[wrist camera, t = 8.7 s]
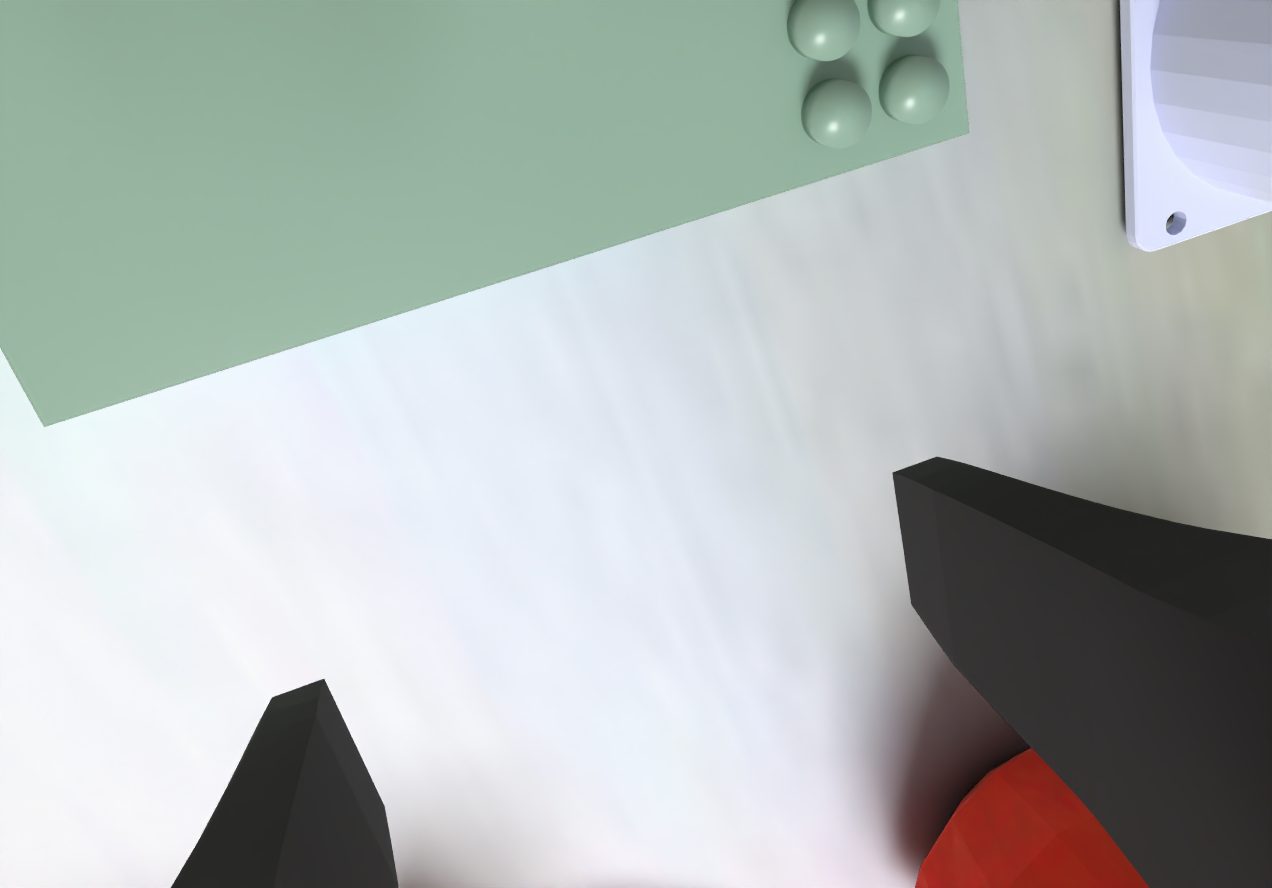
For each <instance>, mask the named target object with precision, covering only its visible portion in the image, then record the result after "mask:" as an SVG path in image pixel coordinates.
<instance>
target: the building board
mask: <svg viewBox="0 0 1272 888" xmlns="http://www.w3.org/2000/svg"><path fill="white" fill-rule="evenodd" d="M968 133H969V122H968V111H967V100H966V90H965V79H964V68H963V57H962V46H961V35H960V24H959V13H958V2H957V0H0V348H1V350H2V352H3V353H4V355H5V357H6V359H7V361H8V363H9V364H10V366H11V368H12V370H13V372H14V373H15V375H16V377H17V379H18V381H19V382H20V384H21V386H22V388H23V390H24V392H25V393H26V395H27V397H28V399H29V401H30V402H31V404H32V406H33V408H34V410H35V412H36V413H37V415H38V417H39V419H40V421H41V422H42V424H43V426H44V427H46V426H49V425H52V424H55V423H58V422H61V421H65V420H68V419H71V418H74V417H77V416H80V415H83V414H87V413H90V412H93V411H96V410H99V409H102V408H105V407H109V406H112V405H115V404H118V403H121V402H124V401H127V400H131V399H134V398H137V397H140V396H143V395H146V394H150V393H153V392H156V391H159V390H162V389H165V388H168V387H172V386H175V385H178V384H181V383H184V382H187V381H190V380H194V379H197V378H200V377H203V376H206V375H209V374H212V373H216V372H219V371H222V370H225V369H228V368H231V367H235V366H238V365H241V364H244V363H247V362H250V361H253V360H257V359H260V358H263V357H266V356H269V355H272V354H275V353H279V352H282V351H285V350H288V349H291V348H294V347H297V346H301V345H304V344H307V343H310V342H313V341H316V340H320V339H323V338H326V337H329V336H332V335H335V334H338V333H342V332H345V331H348V330H351V329H354V328H357V327H360V326H364V325H367V324H370V323H373V322H376V321H379V320H382V319H386V318H389V317H392V316H395V315H398V314H401V313H405V312H408V311H411V310H414V309H417V308H420V307H423V306H427V305H430V304H433V303H436V302H439V301H442V300H445V299H449V298H452V297H455V296H458V295H461V294H464V293H467V292H471V291H474V290H477V289H480V288H483V287H486V286H490V285H493V284H496V283H499V282H502V281H505V280H508V279H512V278H515V277H518V276H521V275H524V274H527V273H530V272H534V271H537V270H540V269H543V268H546V267H549V266H552V265H556V264H559V263H562V262H565V261H568V260H571V259H575V258H578V257H581V256H584V255H587V254H590V253H593V252H597V251H600V250H603V249H606V248H609V247H612V246H615V245H619V244H622V243H625V242H628V241H631V240H634V239H637V238H641V237H644V236H647V235H650V234H653V233H656V232H660V231H663V230H666V229H669V228H672V227H675V226H678V225H682V224H685V223H688V222H691V221H694V220H697V219H700V218H704V217H707V216H710V215H713V214H716V213H719V212H722V211H726V210H729V209H732V208H735V207H738V206H741V205H745V204H748V203H751V202H754V201H757V200H760V199H763V198H767V197H770V196H773V195H776V194H779V193H782V192H785V191H789V190H792V189H795V188H798V187H801V186H804V185H807V184H811V183H814V182H817V181H820V180H823V179H826V178H830V177H833V176H836V175H839V174H842V173H845V172H848V171H852V170H855V169H858V168H861V167H864V166H867V165H870V164H874V163H877V162H880V161H883V160H886V159H889V158H892V157H896V156H899V155H902V154H905V153H908V152H911V151H915V150H918V149H921V148H924V147H927V146H930V145H933V144H937V143H940V142H943V141H946V140H949V139H952V138H955V137H959V136H962V135H965V134H968Z"/></svg>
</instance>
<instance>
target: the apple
mask: <svg viewBox="0 0 1272 888" xmlns="http://www.w3.org/2000/svg"><path fill="white" fill-rule="evenodd" d="M915 888H1149V886H1148V885H1147V884H1146V883H1145V881H1144V880H1143V879H1142V877H1141V876H1140V875H1139V873H1138V872H1137V871H1136V869H1135V868H1134V867H1133V866H1132V864H1131V863H1130V862H1129V860H1128V859H1127V858H1126V856H1125V855H1124V854H1123V852H1122V851H1121V850H1120V849H1119V847H1118V846H1117V845H1116V843H1115V842H1114V841H1113V839H1112V838H1111V837H1110V836H1109V834H1108V833H1107V832H1106V830H1105V829H1104V828H1103V826H1102V825H1101V824H1100V823H1099V821H1098V820H1097V819H1096V818H1095V817H1094V815H1093V814H1092V813H1091V812H1090V811H1089V810H1088V808H1087V807H1086V806H1085V805H1084V804H1083V803H1082V802H1081V800H1080V799H1079V798H1078V797H1077V796H1076V795H1075V794H1074V792H1073V791H1072V790H1071V789H1070V788H1069V787H1068V786H1067V785H1066V784H1065V783H1064V782H1063V781H1062V780H1061V779H1060V778H1059V776H1058V775H1057V774H1056V773H1055V772H1054V771H1053V770H1052V769H1051V768H1050V767H1049V766H1048V765H1047V764H1046V763H1045V762H1044V761H1043V760H1042V759H1041V757H1040V756H1039V755H1038V754H1037V753H1036V752H1035V751H1034V750H1033V749H1032V748H1030V749H1028V750H1026V751H1024V752H1022V753H1020V754H1018V755H1016V756H1015V757H1013V758H1011V759H1010V760H1008V761H1006V762H1005V763H1003V764H1001V765H1000V766H998V767H996V768H995V769H993V770H991V771H990V772H988V773H987V774H986V775H985V776H984V777H983V778H982V779H981V780H980V781H979V782H978V783H977V784H976V785H975V786H974V787H973V788H972V789H971V790H970V792H969V793H968V794H967V795H966V796H965V797H964V798H963V799H962V801H961V802H960V804H959V806H958V807H957V809H956V810H955V812H954V814H953V815H952V817H951V818H950V820H949V822H948V823H947V825H946V826H945V828H944V830H943V831H942V833H941V834H940V836H939V838H938V839H937V841H936V842H935V844H934V846H933V847H932V849H931V850H930V852H929V854H928V855H927V857H926V858H925V860H924V862H923V863H922V865H921V866H920V870H919V874H918V878H917V882H916V886H915Z"/></svg>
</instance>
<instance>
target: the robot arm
mask: <svg viewBox="0 0 1272 888" xmlns="http://www.w3.org/2000/svg"><path fill="white" fill-rule="evenodd" d="M1120 20H1121V58H1122V96H1123V134H1124V171H1125V209H1126V235H1127V239H1128V242H1129V243H1130V244H1131V245H1132V246H1133V247H1136V248H1139V249H1141V250H1144V251H1147V252H1149V251H1156V250H1159V249H1162V248H1165V247H1168V246H1170V245H1173V244H1176V243H1179V242H1182V241H1185V240H1188V239H1191V238H1194V237H1197V236H1200V235H1202V234H1205V233H1208V232H1211V231H1214V230H1217V229H1220V228H1223V227H1226V226H1229V225H1232V224H1234V223H1237V222H1240V221H1243V220H1246V219H1249V218H1252V217H1255V216H1258V215H1261V214H1264V213H1266V212H1269V211H1272V0H1120ZM1171 214H1174V218H1173V222H1172V224H1171V225H1170V227H1169V228H1167V229H1166V222H1167V220H1168V218H1169V217H1170V215H1171ZM893 480H894V487H895V494H896V501H897V508H898V514H899V521H900V528H901V535H902V542H903V549H904V556H905V563H906V570H907V577H908V583H909V590H910V597H911V604H912V606H913V608H914V609H915V610H916V612H917V613H918V615H919V616H920V618H921V619H922V621H923V622H924V624H925V625H926V627H927V628H928V629H929V631H930V632H931V634H932V635H933V637H934V638H935V640H936V641H937V642H938V644H939V645H940V646H941V648H942V649H943V651H944V652H945V653H946V655H947V656H948V657H949V659H950V660H951V661H952V663H953V664H954V666H955V667H956V668H957V669H958V670H959V671H960V672H961V673H962V674H963V676H964V677H965V678H966V679H967V680H968V681H969V682H970V683H971V684H972V685H973V686H974V687H975V689H976V690H977V691H978V692H979V693H980V694H981V695H982V696H983V697H984V698H985V699H986V700H987V701H988V702H989V704H990V705H991V706H992V707H993V708H994V709H995V710H996V711H997V712H998V713H999V714H1000V715H1001V716H1002V717H1003V718H1004V720H1005V721H1006V722H1007V723H1008V724H1009V725H1010V726H1011V727H1012V728H1013V729H1014V730H1015V731H1016V732H1017V733H1018V734H1019V735H1020V736H1021V737H1022V738H1023V740H1024V741H1025V742H1026V743H1027V744H1028V745H1029V746H1030V747H1031V748H1032V749H1033V750H1034V751H1035V752H1036V753H1037V754H1038V755H1039V756H1040V757H1041V759H1042V760H1043V761H1044V762H1045V763H1046V764H1047V765H1048V766H1049V767H1050V768H1051V769H1052V770H1053V771H1054V772H1055V773H1056V774H1057V775H1058V776H1059V778H1060V779H1061V780H1062V781H1063V782H1064V783H1065V784H1066V785H1067V786H1068V787H1069V788H1070V789H1071V790H1072V791H1073V792H1074V794H1075V795H1076V796H1077V797H1078V798H1079V799H1080V800H1081V802H1082V803H1083V804H1084V805H1085V806H1086V807H1087V808H1088V810H1089V811H1090V812H1091V813H1092V814H1093V815H1094V817H1095V818H1096V819H1097V820H1098V821H1099V823H1100V824H1101V825H1102V826H1103V828H1104V829H1105V830H1106V832H1107V833H1108V834H1109V836H1110V837H1111V838H1112V839H1113V841H1114V842H1115V843H1116V845H1117V846H1118V847H1119V849H1120V850H1121V851H1122V852H1123V854H1124V855H1125V856H1126V858H1127V859H1128V860H1129V862H1130V863H1131V864H1132V866H1133V867H1134V868H1135V869H1136V871H1137V872H1138V873H1139V875H1140V876H1141V877H1142V879H1143V880H1144V881H1145V883H1146V884H1147V885H1148V886H1149V888H1272V539H1266V538H1259V537H1253V536H1247V535H1241V534H1235V533H1229V532H1223V531H1217V530H1211V529H1206V528H1201V527H1196V526H1191V525H1186V524H1181V523H1176V522H1171V521H1167V520H1163V519H1159V518H1155V517H1150V516H1146V515H1142V514H1138V513H1134V512H1129V511H1125V510H1121V509H1118V508H1114V507H1110V506H1106V505H1103V504H1099V503H1095V502H1092V501H1088V500H1084V499H1081V498H1077V497H1074V496H1070V495H1067V494H1064V493H1060V492H1057V491H1053V490H1050V489H1047V488H1044V487H1040V486H1037V485H1034V484H1030V483H1027V482H1024V481H1021V480H1017V479H1014V478H1011V477H1008V476H1005V475H1001V474H998V473H995V472H992V471H988V470H985V469H982V468H978V467H975V466H972V465H968V464H965V463H961V462H957V461H953V460H949V459H945V458H941V457H935V458H932V459H929V460H926V461H924V462H921V463H918V464H915V465H913V466H910V467H907V468H904V469H901V470H899V471H896V472H893ZM171 888H398V881H397V875H396V869H395V863H394V856H393V850H392V845H391V839H390V834H389V828H388V823H387V817H386V812H385V806H384V804H383V802H382V800H381V798H380V796H379V794H378V791H377V789H376V787H375V785H374V783H373V781H372V779H371V777H370V775H369V772H368V770H367V768H366V766H365V764H364V762H363V760H362V758H361V756H360V753H359V751H358V749H357V747H356V745H355V743H354V741H353V739H352V737H351V734H350V732H349V730H348V728H347V726H346V724H345V722H344V720H343V718H342V715H341V713H340V711H339V709H338V707H337V705H336V703H335V701H334V699H333V696H332V694H331V692H330V690H329V688H328V686H327V684H326V682H325V680H324V679H322V680H319V681H316V682H314V683H311V684H308V685H305V686H303V687H300V688H297V689H294V690H292V691H289V692H286V693H283V694H280V695H278V696H275V697H272V699H271V701H270V702H269V704H268V706H267V708H266V710H265V712H264V714H263V716H262V718H261V720H260V721H259V723H258V725H257V727H256V729H255V732H254V734H253V736H252V738H251V740H250V742H249V744H248V746H247V748H246V750H245V752H244V754H243V756H242V758H241V760H240V762H239V764H238V766H237V768H236V770H235V772H234V774H233V776H232V778H231V780H230V782H229V784H228V786H227V788H226V790H225V792H224V794H223V796H222V797H221V799H220V801H219V803H218V805H217V807H216V809H215V811H214V813H213V815H212V816H211V818H210V820H209V822H208V824H207V826H206V828H205V830H204V832H203V833H202V835H201V837H200V839H199V841H198V843H197V844H196V846H195V848H194V850H193V851H192V853H191V855H190V856H189V858H188V860H187V861H186V863H185V865H184V866H183V868H182V870H181V871H180V873H179V875H178V876H177V878H176V880H175V882H174V883H173V885H172V887H171Z"/></svg>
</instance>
